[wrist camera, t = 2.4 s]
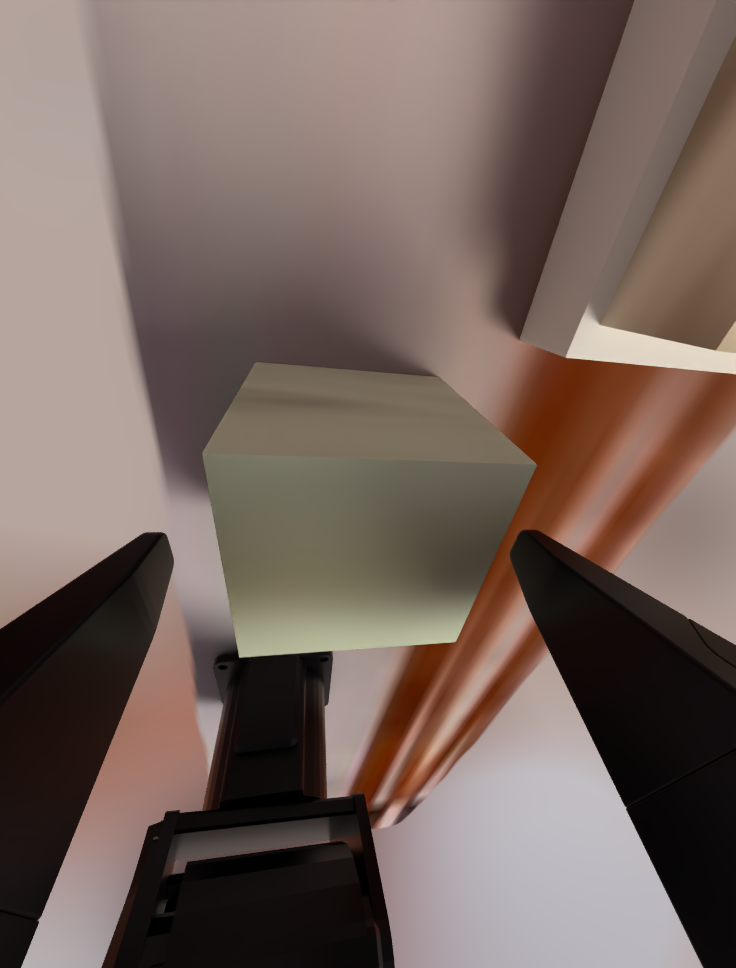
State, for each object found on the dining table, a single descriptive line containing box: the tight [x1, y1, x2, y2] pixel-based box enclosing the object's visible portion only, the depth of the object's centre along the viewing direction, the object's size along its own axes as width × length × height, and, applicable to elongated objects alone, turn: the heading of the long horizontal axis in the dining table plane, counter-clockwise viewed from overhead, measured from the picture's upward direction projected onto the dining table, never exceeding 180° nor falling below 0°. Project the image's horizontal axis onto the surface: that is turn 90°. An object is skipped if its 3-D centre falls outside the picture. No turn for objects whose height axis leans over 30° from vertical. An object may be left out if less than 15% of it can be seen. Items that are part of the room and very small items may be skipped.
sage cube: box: [202, 362, 537, 658], centre depth 10 cm, size 6×6×6 cm
